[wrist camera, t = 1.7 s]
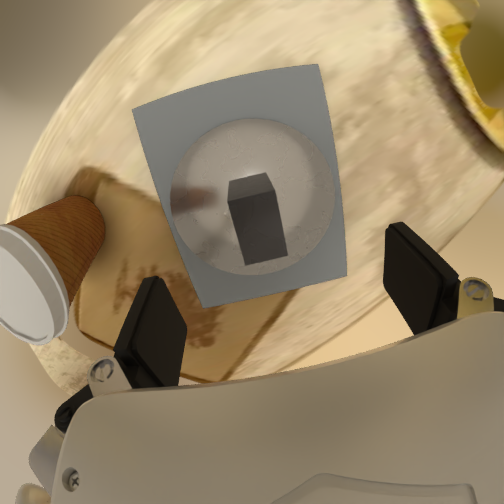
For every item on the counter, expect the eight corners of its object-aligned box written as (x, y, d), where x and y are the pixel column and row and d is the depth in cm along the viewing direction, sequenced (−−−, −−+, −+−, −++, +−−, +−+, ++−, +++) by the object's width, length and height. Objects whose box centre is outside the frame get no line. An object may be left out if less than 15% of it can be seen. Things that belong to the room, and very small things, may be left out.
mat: (345, 272, 27) (347, 275, 26) (203, 304, 28) (203, 308, 27) (315, 65, 17) (318, 63, 17) (134, 109, 18) (131, 109, 18)
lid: (335, 248, 25) (362, 288, 19) (201, 279, 25) (193, 327, 20) (315, 105, 18) (347, 103, 13) (154, 144, 19) (123, 157, 13)
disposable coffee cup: (36, 233, 22) (-31, 297, 12) (63, 159, 19) (-29, 205, 9) (98, 282, 26) (50, 366, 15) (137, 217, 23) (74, 300, 12)
